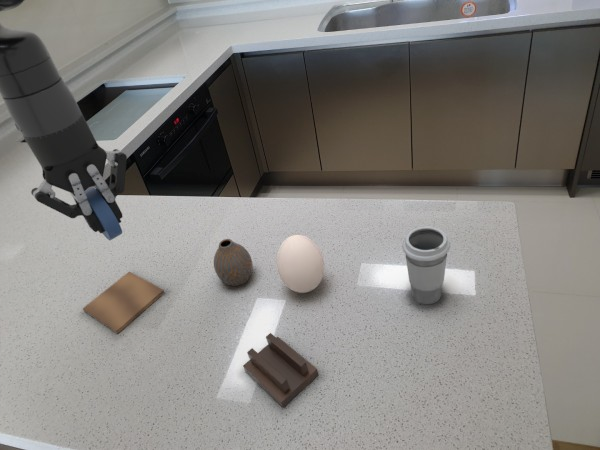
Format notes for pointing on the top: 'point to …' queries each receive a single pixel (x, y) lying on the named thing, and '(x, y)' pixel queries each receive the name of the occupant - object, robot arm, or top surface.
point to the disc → (104, 214)
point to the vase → (232, 263)
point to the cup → (426, 262)
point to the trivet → (123, 301)
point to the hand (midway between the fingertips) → (109, 225)
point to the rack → (280, 370)
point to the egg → (300, 264)
